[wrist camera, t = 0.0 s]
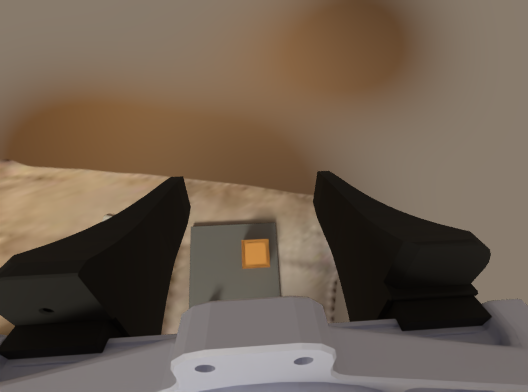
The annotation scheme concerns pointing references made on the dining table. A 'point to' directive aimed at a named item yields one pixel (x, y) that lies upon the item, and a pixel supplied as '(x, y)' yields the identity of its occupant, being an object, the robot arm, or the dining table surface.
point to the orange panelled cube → (255, 253)
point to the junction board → (230, 264)
